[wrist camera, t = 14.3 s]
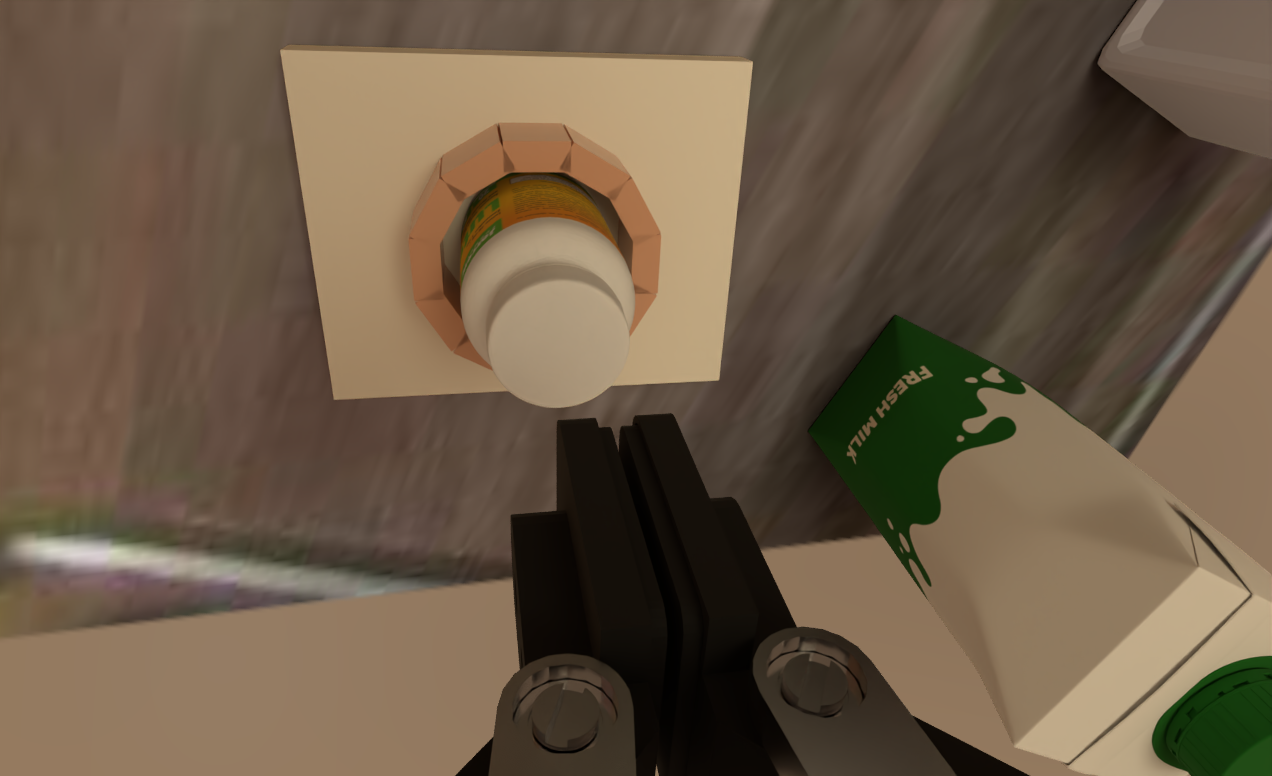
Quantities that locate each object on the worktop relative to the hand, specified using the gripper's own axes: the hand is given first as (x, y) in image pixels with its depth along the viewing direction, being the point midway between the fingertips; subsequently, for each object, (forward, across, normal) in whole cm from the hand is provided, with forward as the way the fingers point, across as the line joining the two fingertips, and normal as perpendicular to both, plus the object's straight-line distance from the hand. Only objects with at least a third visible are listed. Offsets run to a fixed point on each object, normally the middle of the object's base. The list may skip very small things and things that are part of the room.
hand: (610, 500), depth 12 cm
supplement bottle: (+20, 0, +3) cm, 21 cm away
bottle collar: (+20, 0, +3) cm, 20 cm away
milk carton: (+22, -18, +12) cm, 31 cm away
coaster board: (+22, 0, +3) cm, 22 cm away
